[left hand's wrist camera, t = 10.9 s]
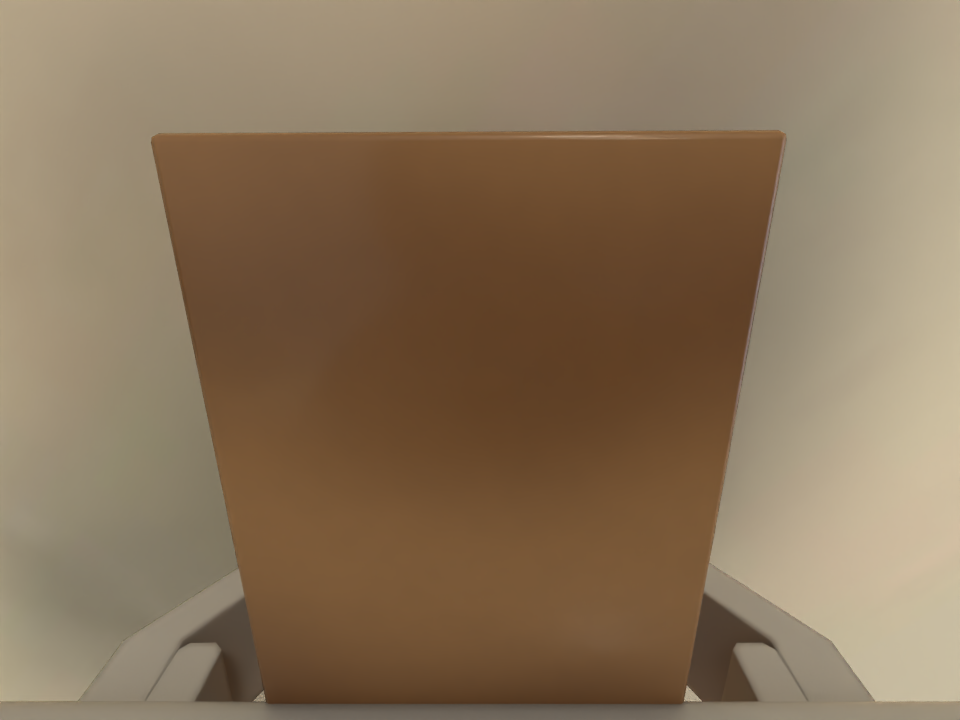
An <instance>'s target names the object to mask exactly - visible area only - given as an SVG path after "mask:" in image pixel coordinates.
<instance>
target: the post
mask: <svg viewBox="0 0 960 720" xmlns="http://www.w3.org/2000/svg"><path fill="white" fill-rule="evenodd" d="M151 144H152V149H153V154H154V159H155V164H156V168H157V173H158V178H159V183H160V188H161V193H162V198H163V202H164V207H165V212H166V217H167V222H168V227H169V232H170V237H171V241H172V246H173V251H174V256H175V261H176V266H177V271H178V275H179V280H180V285H181V290H182V295H183V300H184V305H185V310H186V314H187V319H188V324H189V329H190V334H191V339H192V344H193V348H194V353H195V358H196V363H197V368H198V373H199V378H200V383H201V387H202V392H203V397H204V402H205V407H206V412H207V417H208V422H209V426H210V431H211V436H212V441H213V446H214V451H215V456H216V460H217V465H218V470H219V475H220V480H221V485H222V490H223V495H224V499H225V504H226V509H227V514H228V519H229V524H230V529H231V533H232V538H233V543H234V548H235V553H236V558H237V563H238V568H239V572H240V577H241V582H242V587H243V592H244V597H245V602H246V606H247V611H248V616H249V621H250V626H251V631H252V636H253V641H254V645H255V650H256V655H257V660H258V665H259V670H260V675H261V679H262V684H263V689H264V694H265V699H266V703H268V704H682V703H683V702H684V697H685V691H686V686H687V680H688V675H689V669H690V664H691V658H692V653H693V648H694V642H695V637H696V631H697V626H698V620H699V615H700V609H701V604H702V598H703V593H704V587H705V582H706V576H707V571H708V566H709V560H710V555H711V549H712V544H713V538H714V533H715V527H716V522H717V516H718V511H719V505H720V500H721V494H722V489H723V484H724V478H725V473H726V467H727V462H728V456H729V451H730V445H731V440H732V434H733V429H734V423H735V418H736V412H737V407H738V402H739V396H740V391H741V385H742V380H743V374H744V369H745V363H746V358H747V352H748V347H749V341H750V336H751V330H752V325H753V320H754V314H755V309H756V303H757V298H758V292H759V287H760V281H761V276H762V270H763V265H764V259H765V254H766V248H767V243H768V238H769V232H770V227H771V221H772V216H773V210H774V205H775V199H776V194H777V188H778V183H779V177H780V172H781V166H782V161H783V156H784V150H785V145H786V134H785V133H783V132H781V131H779V130H735V131H538V132H342V133H159V134H157V135H155V136H153V137H152V140H151Z"/></svg>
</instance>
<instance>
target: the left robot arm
mask: <svg viewBox="0 0 960 720" xmlns="http://www.w3.org/2000/svg"><path fill="white" fill-rule="evenodd" d="M687 686H688V687H689V688H690V689H691V690H692V691H693V692H694V693H695V694H696V695H697V696H698V697H699V698H700V699H701V700H702V701H703V702H683V703H682V704H268V703H266V702H252V701H253V700H254V699H255V698H256V697H257V696H258V695H259V694H260V693H261V692H262V691H263V690H264V689H263V684H262V679H261V675H260V670H259V665H258V660H257V655H256V650H255V645H254V641H253V636H252V631H251V626H250V621H249V616H248V611H247V606H246V602H245V597H244V592H243V587H242V582H241V577H240V572H239V568H237V569H235V570H234V571H232V572H231V573H229V574H228V575H226V576H224V577H223V578H221V579H220V580H218V581H217V582H215V583H213V584H212V585H210V586H209V587H207V588H205V589H204V590H202V591H201V592H199V593H198V594H196V595H194V596H193V597H191V598H190V599H188V600H187V601H185V602H183V603H182V604H180V605H179V606H177V607H175V608H174V609H172V610H171V611H169V612H168V613H166V614H164V615H163V616H161V617H160V618H158V619H156V620H155V621H153V622H152V623H150V624H149V625H147V626H145V627H144V628H142V629H141V630H139V631H138V632H136V633H134V634H133V635H131V636H130V637H128V638H126V639H125V640H123V642H122V643H121V644H120V646H119V647H118V648H117V650H116V651H115V652H114V654H113V655H112V656H111V658H110V659H109V660H108V662H107V663H106V664H105V666H104V667H103V668H102V670H101V671H100V672H99V674H98V675H97V676H96V678H95V679H94V680H93V682H92V683H91V684H90V686H89V687H88V688H87V690H86V691H85V692H84V694H83V695H82V696H81V698H80V699H79V700H78V701H0V720H960V701H943V702H875V700H874V699H873V698H872V696H871V695H870V693H869V692H868V691H867V689H866V688H865V687H864V685H863V684H862V683H861V681H860V680H859V678H858V677H857V676H856V674H855V673H854V672H853V670H852V669H851V667H850V666H849V665H848V663H847V662H846V661H845V659H844V658H843V657H842V655H841V654H840V652H839V651H838V650H837V648H836V647H835V646H834V644H833V643H832V642H831V641H830V640H829V639H827V638H825V637H824V636H822V635H821V634H819V633H818V632H816V631H815V630H813V629H811V628H810V627H808V626H807V625H805V624H804V623H802V622H800V621H799V620H797V619H796V618H794V617H793V616H791V615H790V614H788V613H786V612H785V611H783V610H782V609H780V608H779V607H777V606H776V605H774V604H772V603H771V602H769V601H768V600H766V599H765V598H763V597H761V596H760V595H758V594H757V593H755V592H754V591H752V590H751V589H749V588H747V587H746V586H744V585H743V584H741V583H740V582H738V581H737V580H735V579H733V578H732V577H730V576H729V575H727V574H726V573H724V572H722V571H721V570H719V569H718V568H716V567H715V566H713V565H712V564H710V563H709V566H708V571H707V576H706V582H705V587H704V593H703V598H702V604H701V609H700V615H699V620H698V626H697V631H696V637H695V642H694V648H693V653H692V658H691V664H690V669H689V675H688V680H687Z"/></svg>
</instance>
